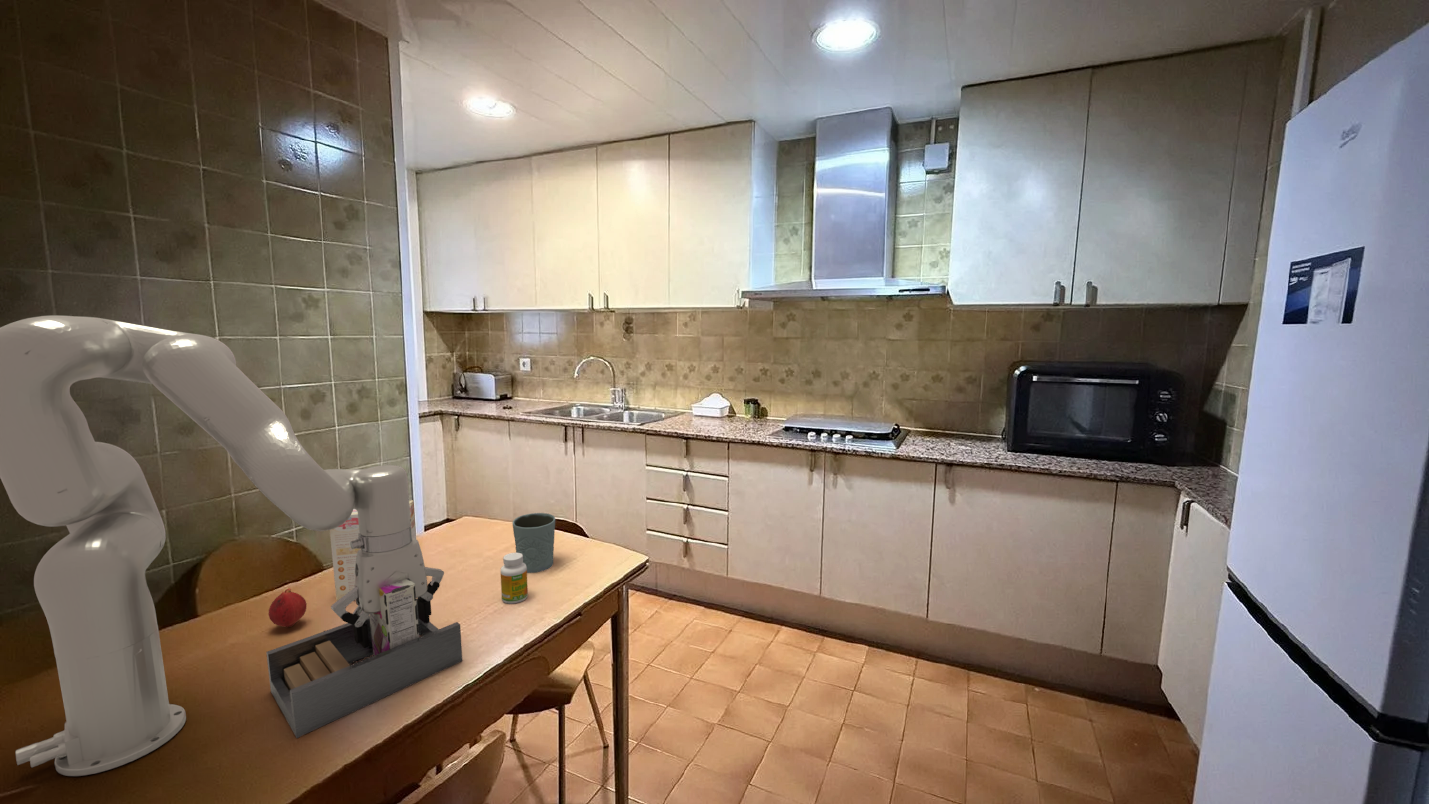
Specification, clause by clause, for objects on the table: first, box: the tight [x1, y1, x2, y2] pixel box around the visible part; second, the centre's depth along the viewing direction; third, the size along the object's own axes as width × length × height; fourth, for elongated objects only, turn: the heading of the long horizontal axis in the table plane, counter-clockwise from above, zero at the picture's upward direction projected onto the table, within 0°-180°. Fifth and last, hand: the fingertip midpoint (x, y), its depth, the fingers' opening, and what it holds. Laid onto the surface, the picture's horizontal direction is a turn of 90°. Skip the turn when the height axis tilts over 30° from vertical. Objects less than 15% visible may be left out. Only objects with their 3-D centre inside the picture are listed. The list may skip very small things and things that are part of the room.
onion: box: [268, 587, 308, 628], centre depth 106 cm, size 6×6×8 cm
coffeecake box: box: [329, 499, 418, 602], centre depth 120 cm, size 15×7×20 cm, turn 108°
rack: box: [266, 598, 463, 739], centre depth 91 cm, size 24×15×7 cm, turn 140°
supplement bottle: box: [500, 552, 529, 605], centre depth 118 cm, size 5×5×10 cm
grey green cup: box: [512, 512, 556, 574], centre depth 134 cm, size 10×10×12 cm
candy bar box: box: [369, 578, 420, 656], centre depth 94 cm, size 11×5×16 cm, turn 47°
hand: (395, 632), depth 94 cm, fingers open, 9 cm apart
